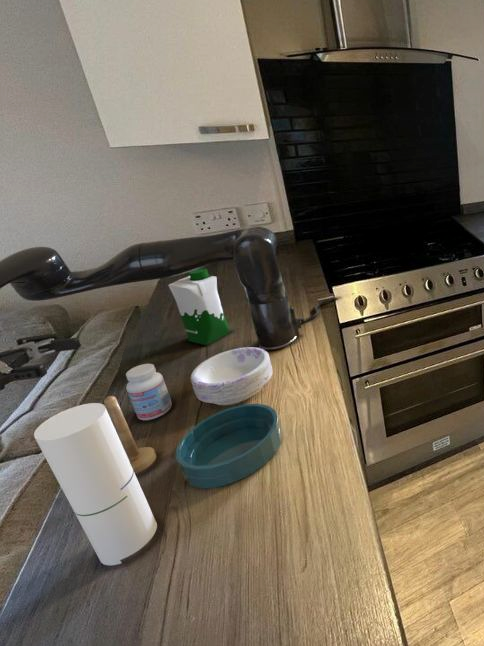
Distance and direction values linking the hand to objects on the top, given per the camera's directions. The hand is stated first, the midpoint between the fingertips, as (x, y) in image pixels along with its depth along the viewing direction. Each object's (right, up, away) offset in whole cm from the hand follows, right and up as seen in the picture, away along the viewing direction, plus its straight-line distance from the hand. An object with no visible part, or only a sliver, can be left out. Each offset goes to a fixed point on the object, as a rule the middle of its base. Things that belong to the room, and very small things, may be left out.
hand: (62, 356), depth 80 cm
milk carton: (-7, -6, +46) cm, 47 cm away
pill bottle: (+2, -17, +18) cm, 25 cm away
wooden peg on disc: (+10, -22, +4) cm, 25 cm away
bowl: (+27, -21, +7) cm, 35 cm away
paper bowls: (+16, -15, +24) cm, 32 cm away
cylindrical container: (+21, -28, -10) cm, 36 cm away
